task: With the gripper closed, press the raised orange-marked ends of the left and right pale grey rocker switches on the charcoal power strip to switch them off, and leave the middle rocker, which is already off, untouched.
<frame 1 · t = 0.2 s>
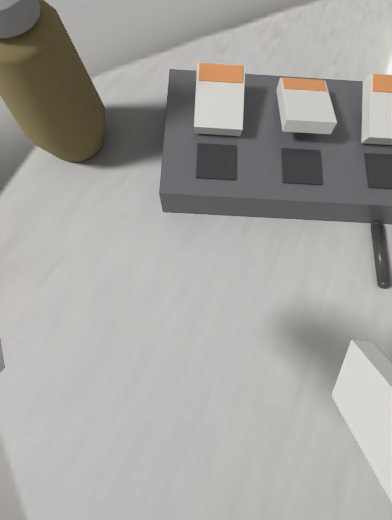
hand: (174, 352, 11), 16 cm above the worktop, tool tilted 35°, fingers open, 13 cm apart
power strip: (285, 159, 31), on the worktop
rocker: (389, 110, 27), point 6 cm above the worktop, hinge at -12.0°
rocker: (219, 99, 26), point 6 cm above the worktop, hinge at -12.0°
middle rocker: (304, 104, 26), point 6 cm above the worktop, hinge at 12.0°
squeeze bottle: (77, 141, 31), on the worktop
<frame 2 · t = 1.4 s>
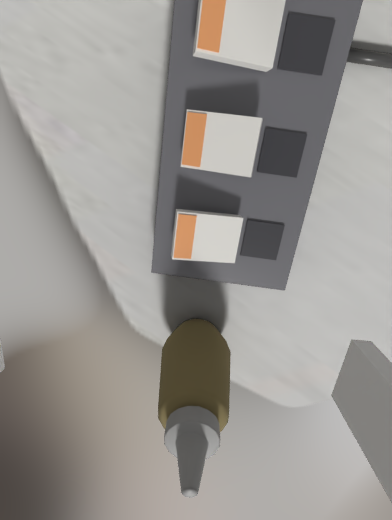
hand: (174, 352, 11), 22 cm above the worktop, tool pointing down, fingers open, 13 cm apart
power strip: (237, 149, 29), on the worktop
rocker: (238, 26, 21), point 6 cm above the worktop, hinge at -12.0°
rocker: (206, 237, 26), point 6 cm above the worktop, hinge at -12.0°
middle rocker: (220, 144, 23), point 6 cm above the worktop, hinge at 12.0°
squeeze bottle: (197, 336, 37), on the worktop
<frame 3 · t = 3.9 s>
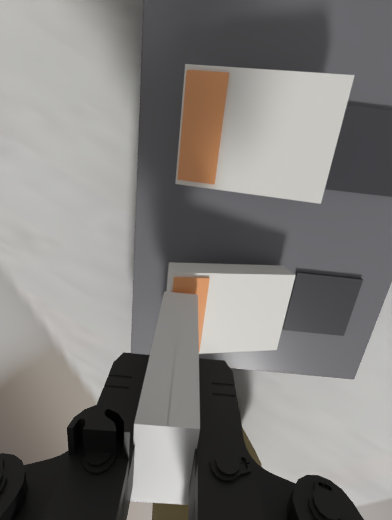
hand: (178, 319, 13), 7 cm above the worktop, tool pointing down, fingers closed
power strip: (270, 146, 17), on the worktop
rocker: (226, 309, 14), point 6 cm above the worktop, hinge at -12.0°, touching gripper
middle rocker: (255, 136, 11), point 6 cm above the worktop, hinge at 12.0°
squeeze bottle: (206, 424, 25), on the worktop
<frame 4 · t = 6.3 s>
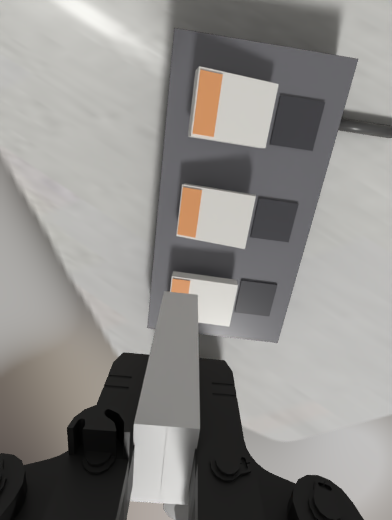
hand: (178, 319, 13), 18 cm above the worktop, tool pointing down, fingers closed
power strip: (230, 207, 29), on the worktop
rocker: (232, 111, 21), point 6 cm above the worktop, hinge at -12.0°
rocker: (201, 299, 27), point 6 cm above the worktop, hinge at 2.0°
middle rocker: (214, 216, 24), point 6 cm above the worktop, hinge at 12.0°
squeeze bottle: (191, 378, 38), on the worktop
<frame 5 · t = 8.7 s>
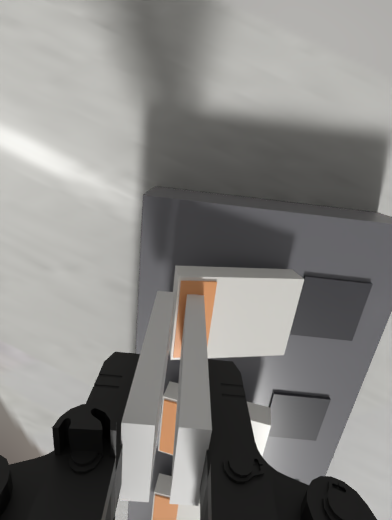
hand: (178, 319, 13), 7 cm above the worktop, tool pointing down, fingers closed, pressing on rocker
power strip: (234, 367, 22), on the worktop
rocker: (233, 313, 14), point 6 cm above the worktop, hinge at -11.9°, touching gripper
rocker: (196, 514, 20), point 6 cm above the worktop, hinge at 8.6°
middle rocker: (211, 430, 17), point 6 cm above the worktop, hinge at 12.0°
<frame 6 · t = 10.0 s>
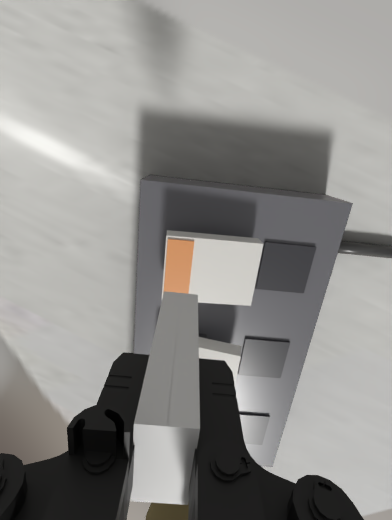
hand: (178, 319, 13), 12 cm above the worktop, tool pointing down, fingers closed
power strip: (216, 325, 27), on the worktop
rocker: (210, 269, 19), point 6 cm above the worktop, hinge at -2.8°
middle rocker: (196, 366, 21), point 6 cm above the worktop, hinge at 12.0°
squeeze bottle: (183, 482, 35), on the worktop
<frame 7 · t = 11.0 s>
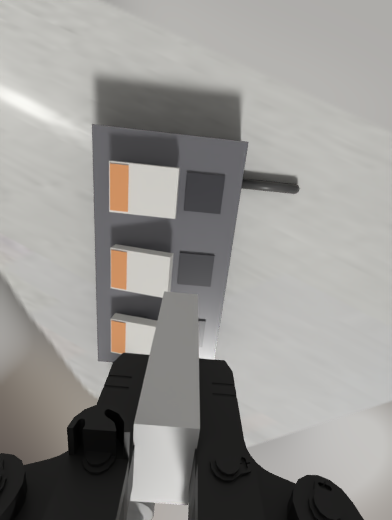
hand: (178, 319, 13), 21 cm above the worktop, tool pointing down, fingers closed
power strip: (165, 253, 34), on the worktop
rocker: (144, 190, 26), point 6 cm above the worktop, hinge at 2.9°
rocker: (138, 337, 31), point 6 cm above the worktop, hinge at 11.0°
middle rocker: (141, 271, 28), point 6 cm above the worktop, hinge at 12.0°
squeeze bottle: (148, 398, 42), on the worktop
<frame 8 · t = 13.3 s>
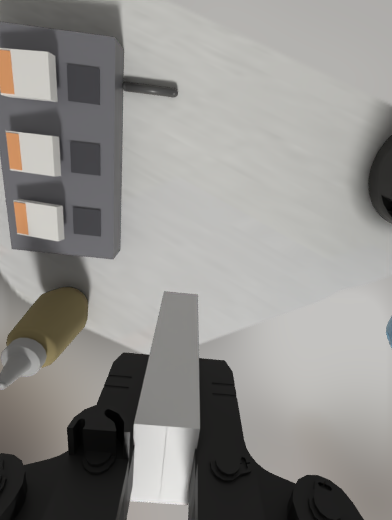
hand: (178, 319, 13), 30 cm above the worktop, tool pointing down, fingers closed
power strip: (70, 155, 39), on the worktop
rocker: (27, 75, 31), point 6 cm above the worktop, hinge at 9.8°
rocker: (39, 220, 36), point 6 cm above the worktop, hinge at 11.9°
middle rocker: (33, 153, 34), point 6 cm above the worktop, hinge at 12.0°
squeeze bottle: (71, 301, 47), on the worktop
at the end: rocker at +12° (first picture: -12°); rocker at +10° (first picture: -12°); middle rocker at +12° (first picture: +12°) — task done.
